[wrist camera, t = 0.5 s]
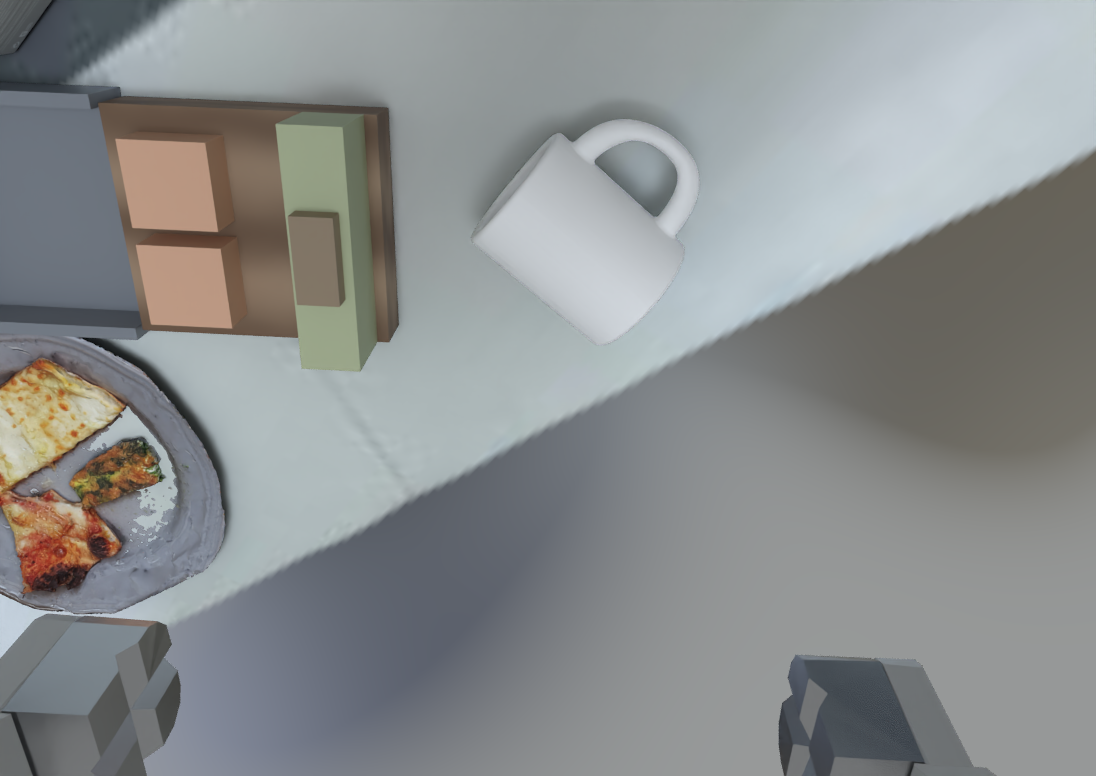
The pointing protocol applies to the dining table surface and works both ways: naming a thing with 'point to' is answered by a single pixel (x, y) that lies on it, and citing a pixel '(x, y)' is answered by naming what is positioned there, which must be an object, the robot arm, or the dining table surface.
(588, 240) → the mug
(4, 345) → the food plate
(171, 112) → the brown flat block
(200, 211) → the tile
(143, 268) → the tile
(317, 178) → the green bar
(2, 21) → the skincare box
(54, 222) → the tray
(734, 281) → the dining table surface
